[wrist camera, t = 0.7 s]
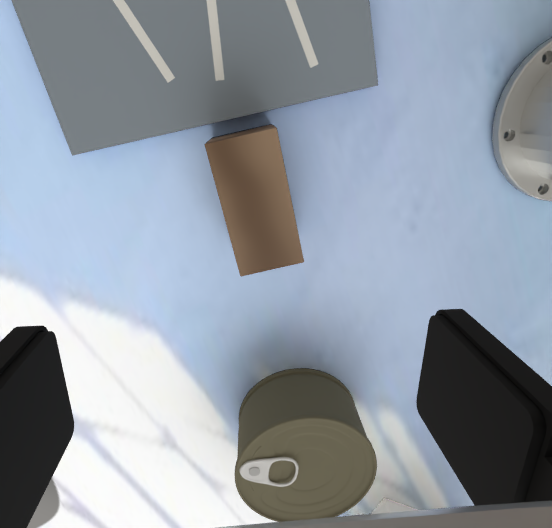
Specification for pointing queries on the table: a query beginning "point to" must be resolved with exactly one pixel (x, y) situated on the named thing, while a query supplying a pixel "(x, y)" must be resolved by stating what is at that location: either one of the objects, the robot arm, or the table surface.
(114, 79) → the board
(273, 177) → the block
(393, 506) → the milk
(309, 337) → the table surface
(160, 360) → the table surface
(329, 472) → the can
